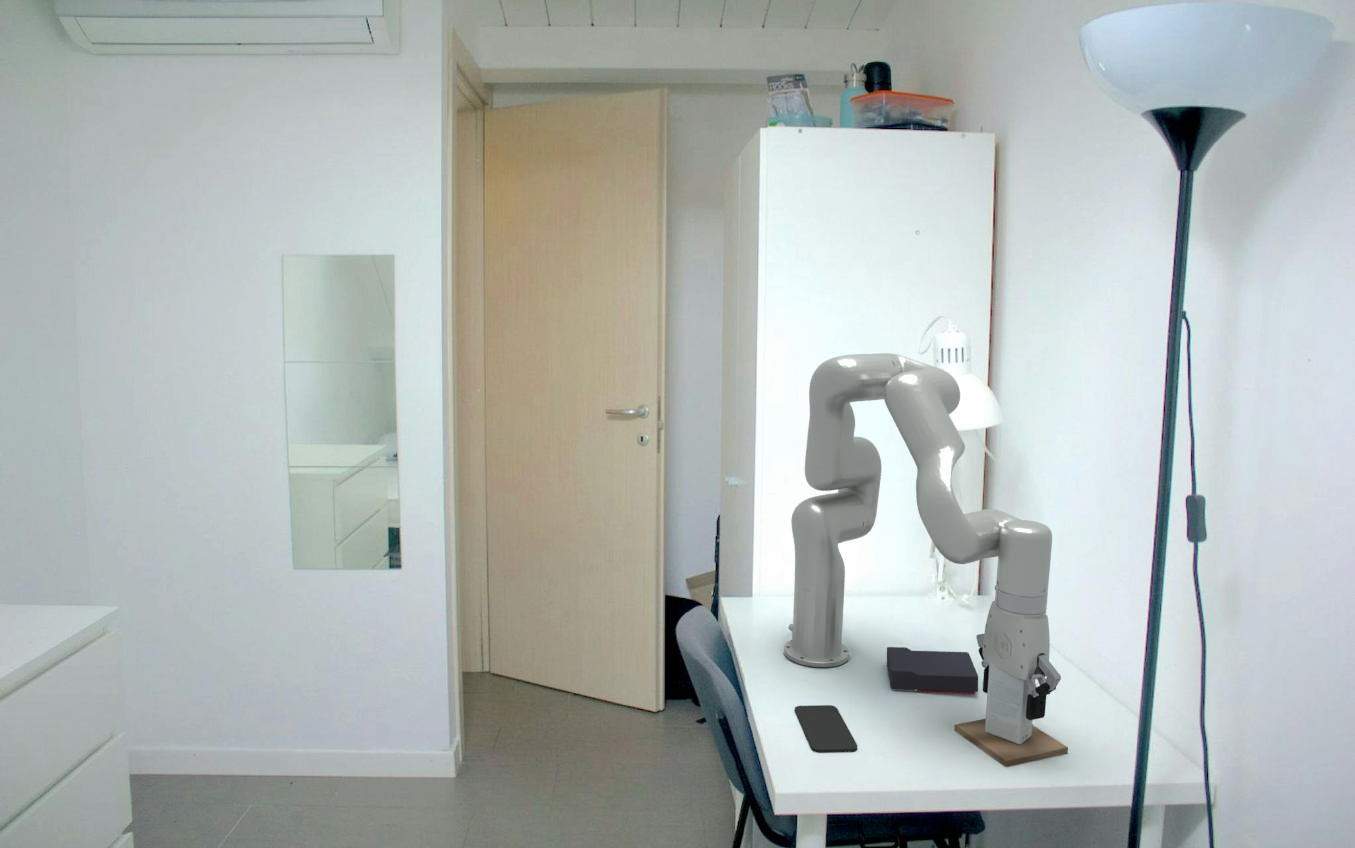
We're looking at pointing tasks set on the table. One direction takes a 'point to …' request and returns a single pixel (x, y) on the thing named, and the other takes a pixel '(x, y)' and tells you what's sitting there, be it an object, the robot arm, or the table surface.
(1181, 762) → the table surface
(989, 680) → the skincare box
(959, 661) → the dark gray stepped block
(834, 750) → the phone
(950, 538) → the robot arm
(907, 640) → the table surface
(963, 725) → the walnut pad
